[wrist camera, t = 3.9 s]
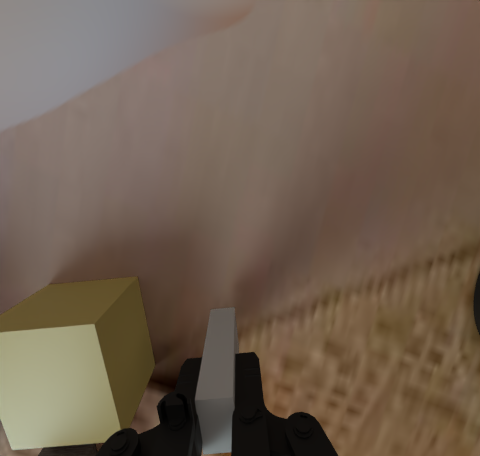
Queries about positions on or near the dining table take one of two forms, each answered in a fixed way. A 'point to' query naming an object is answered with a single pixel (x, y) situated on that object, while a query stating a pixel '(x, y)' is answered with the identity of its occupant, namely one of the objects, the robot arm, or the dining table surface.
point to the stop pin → (70, 450)
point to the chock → (73, 363)
